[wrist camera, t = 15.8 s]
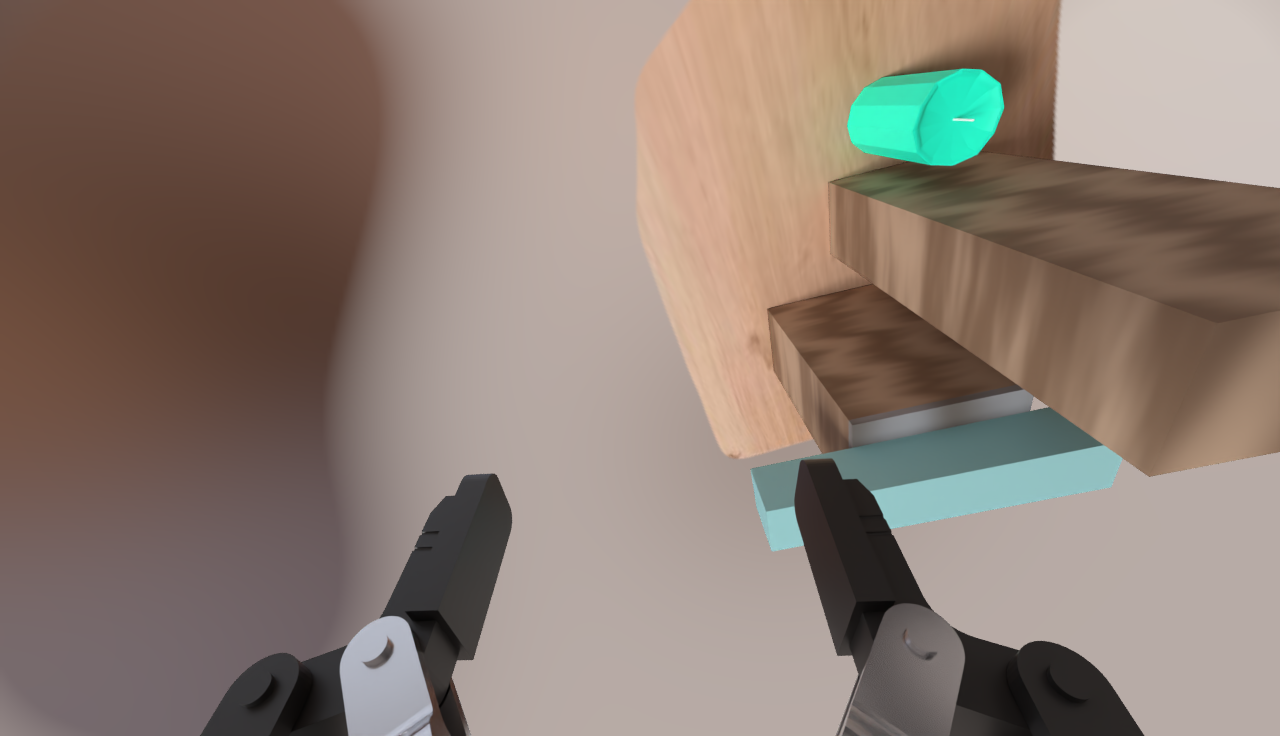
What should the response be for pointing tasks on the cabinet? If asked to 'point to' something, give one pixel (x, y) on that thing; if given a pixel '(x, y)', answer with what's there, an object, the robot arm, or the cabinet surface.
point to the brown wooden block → (880, 371)
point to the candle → (927, 116)
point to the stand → (1090, 292)
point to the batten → (951, 472)
